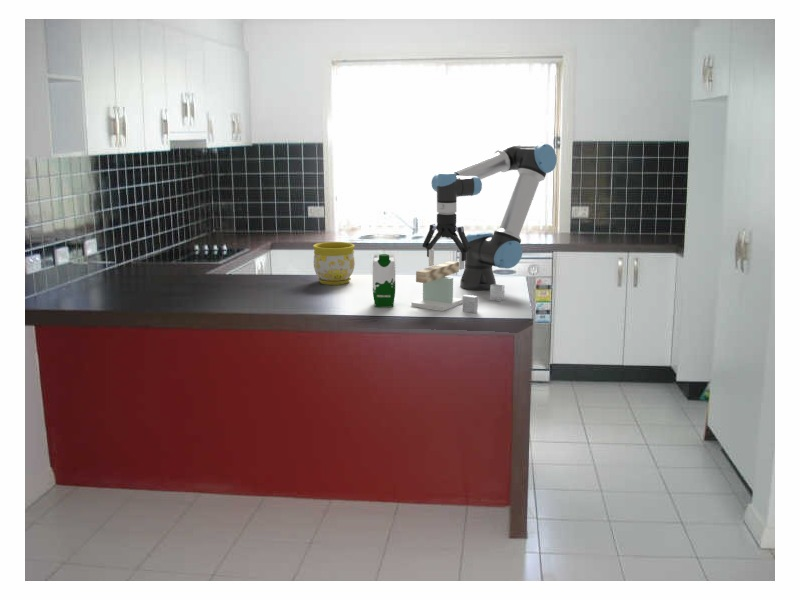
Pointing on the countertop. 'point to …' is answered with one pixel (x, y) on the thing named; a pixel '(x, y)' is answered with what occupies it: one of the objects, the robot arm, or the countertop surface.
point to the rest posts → (472, 301)
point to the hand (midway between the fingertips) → (446, 267)
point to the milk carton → (384, 281)
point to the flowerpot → (334, 262)
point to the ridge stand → (438, 295)
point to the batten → (437, 271)
